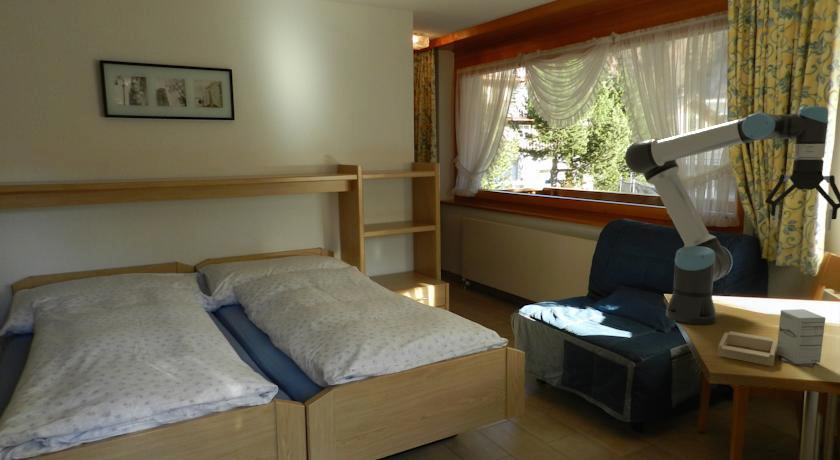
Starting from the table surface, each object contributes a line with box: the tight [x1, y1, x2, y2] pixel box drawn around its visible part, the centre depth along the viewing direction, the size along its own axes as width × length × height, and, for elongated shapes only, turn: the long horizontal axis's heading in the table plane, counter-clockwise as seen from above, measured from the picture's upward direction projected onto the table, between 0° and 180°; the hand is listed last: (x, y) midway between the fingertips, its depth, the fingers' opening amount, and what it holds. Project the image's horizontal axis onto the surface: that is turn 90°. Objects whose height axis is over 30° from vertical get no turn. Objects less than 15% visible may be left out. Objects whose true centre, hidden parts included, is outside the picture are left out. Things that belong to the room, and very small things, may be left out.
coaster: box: [780, 356, 814, 368], centre depth 152 cm, size 7×7×1 cm
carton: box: [717, 331, 778, 367], centre depth 157 cm, size 13×17×3 cm
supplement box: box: [776, 308, 826, 365], centre depth 151 cm, size 7×7×13 cm
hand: (801, 228), depth 174 cm, fingers open, 13 cm apart
